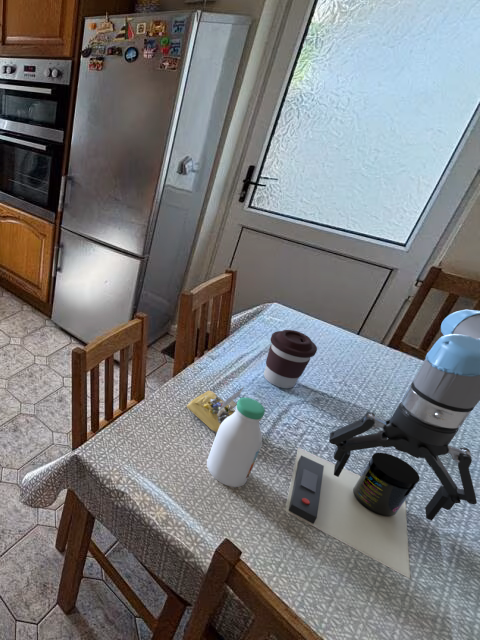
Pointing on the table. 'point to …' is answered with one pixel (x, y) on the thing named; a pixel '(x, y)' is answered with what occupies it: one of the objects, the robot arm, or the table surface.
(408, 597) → the table surface
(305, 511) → the remote
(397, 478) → the supplement container
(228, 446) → the milk bottle
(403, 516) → the scale
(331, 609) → the table surface
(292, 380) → the coffee cup
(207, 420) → the yellow snack bag
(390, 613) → the table surface
